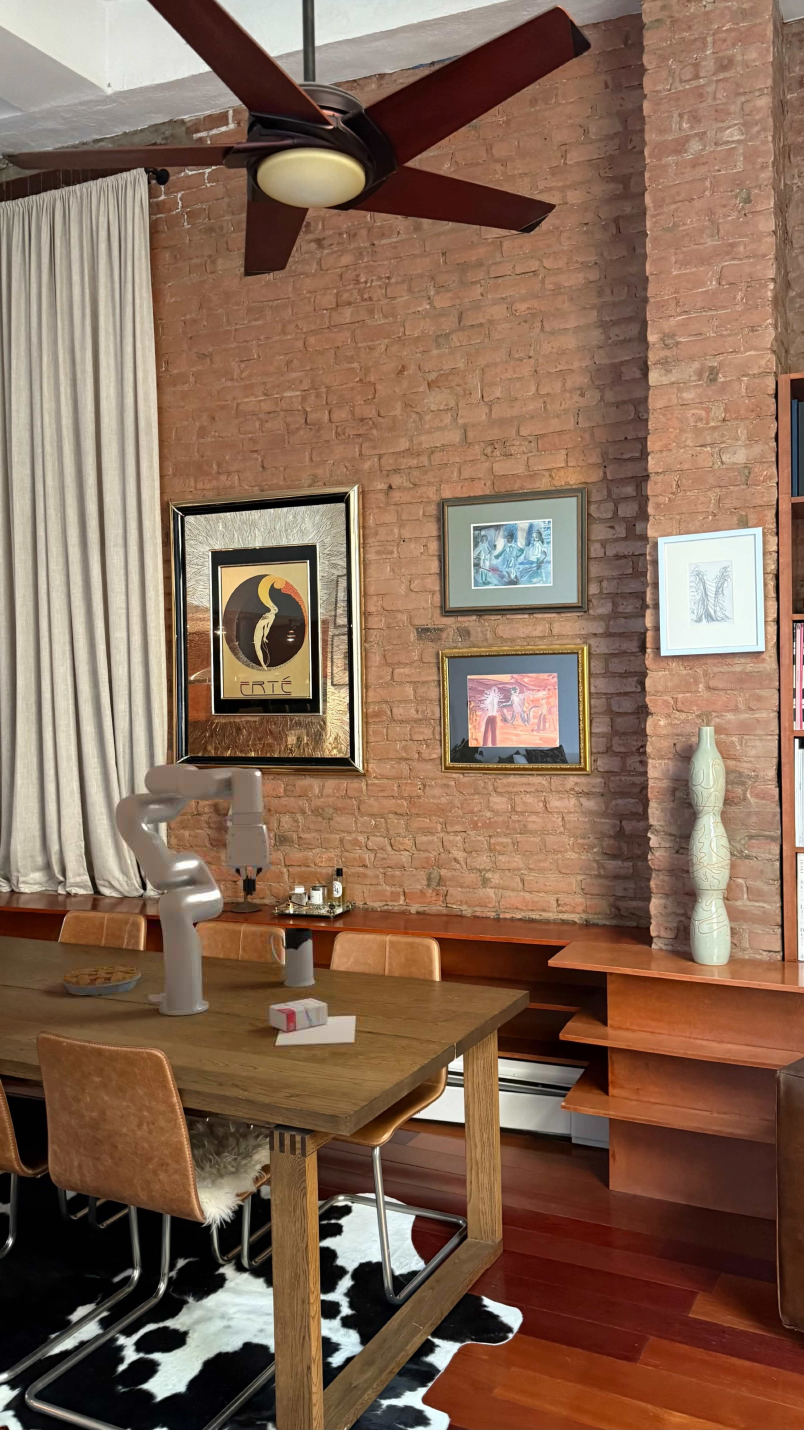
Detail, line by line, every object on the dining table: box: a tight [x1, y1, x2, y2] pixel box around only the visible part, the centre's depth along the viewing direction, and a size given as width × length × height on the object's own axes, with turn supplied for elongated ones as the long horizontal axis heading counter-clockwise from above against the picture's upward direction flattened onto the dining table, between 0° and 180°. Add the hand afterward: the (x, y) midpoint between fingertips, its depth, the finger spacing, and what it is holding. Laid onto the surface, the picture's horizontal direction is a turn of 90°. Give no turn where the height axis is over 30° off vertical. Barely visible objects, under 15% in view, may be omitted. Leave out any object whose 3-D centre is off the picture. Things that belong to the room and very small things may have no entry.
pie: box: [61, 964, 142, 996], centre depth 311 cm, size 22×22×5 cm
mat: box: [275, 1015, 357, 1047], centre depth 261 cm, size 18×22×1 cm
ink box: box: [268, 997, 328, 1033], centre depth 265 cm, size 9×5×12 cm
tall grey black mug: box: [270, 927, 316, 988], centre depth 311 cm, size 9×14×15 cm, turn 58°
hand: (249, 894), depth 267 cm, fingers closed
